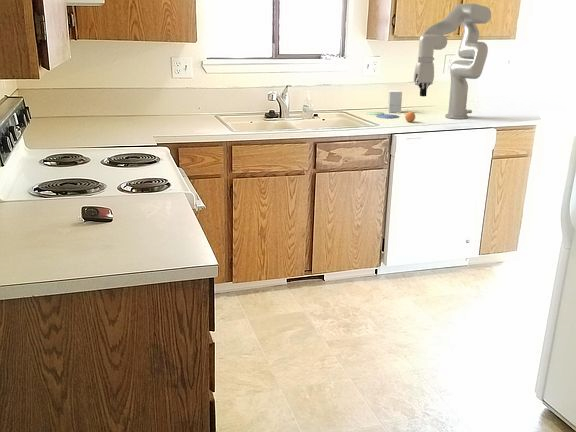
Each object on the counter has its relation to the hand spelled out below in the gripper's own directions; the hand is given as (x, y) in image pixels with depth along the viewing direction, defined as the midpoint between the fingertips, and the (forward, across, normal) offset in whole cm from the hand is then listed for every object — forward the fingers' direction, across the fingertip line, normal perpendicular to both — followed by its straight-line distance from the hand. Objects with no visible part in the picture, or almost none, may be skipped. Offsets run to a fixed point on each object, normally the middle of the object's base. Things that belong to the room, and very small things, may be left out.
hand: (422, 96), depth 315 cm
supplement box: (+15, -13, -42) cm, 46 cm away
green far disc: (+15, 0, -42) cm, 44 cm away
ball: (+12, 0, -10) cm, 16 cm away
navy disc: (+15, 0, -30) cm, 33 cm away
